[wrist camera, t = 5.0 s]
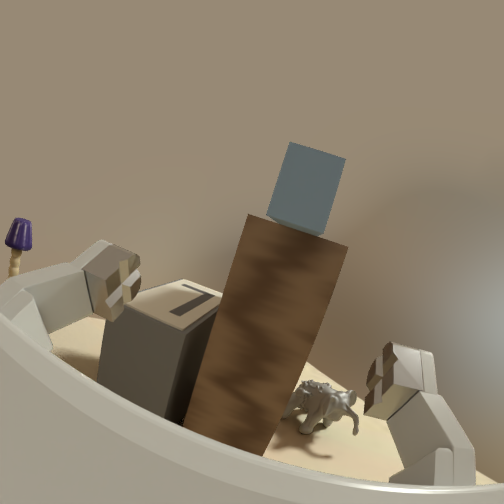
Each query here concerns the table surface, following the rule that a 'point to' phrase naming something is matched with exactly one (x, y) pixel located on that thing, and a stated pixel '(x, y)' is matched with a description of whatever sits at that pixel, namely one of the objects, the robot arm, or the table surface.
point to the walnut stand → (262, 333)
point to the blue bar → (305, 189)
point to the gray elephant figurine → (322, 405)
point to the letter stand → (159, 346)
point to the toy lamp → (18, 242)
